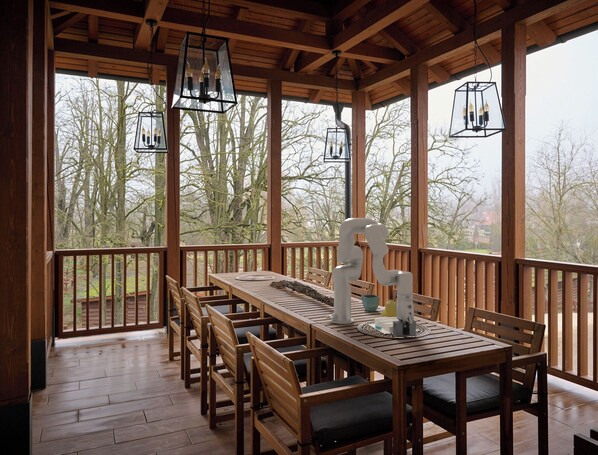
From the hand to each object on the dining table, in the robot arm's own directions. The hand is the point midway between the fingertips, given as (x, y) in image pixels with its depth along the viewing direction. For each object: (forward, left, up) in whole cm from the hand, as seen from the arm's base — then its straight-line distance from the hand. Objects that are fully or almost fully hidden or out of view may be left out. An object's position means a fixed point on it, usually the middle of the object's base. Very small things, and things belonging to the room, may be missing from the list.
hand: (404, 333), depth 231 cm
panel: (0, 0, -2) cm, 2 cm away
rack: (+2, +16, -2) cm, 16 cm away
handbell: (+16, +46, -2) cm, 49 cm away
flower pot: (+9, +60, -2) cm, 61 cm away
